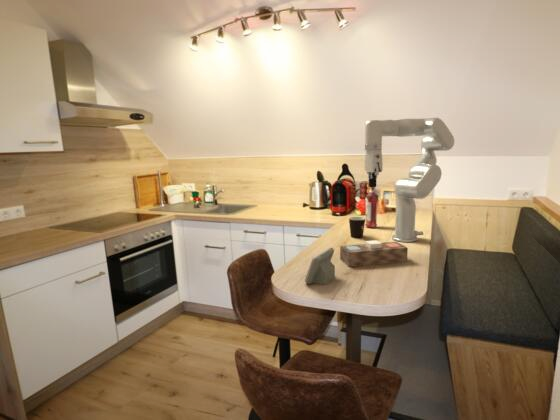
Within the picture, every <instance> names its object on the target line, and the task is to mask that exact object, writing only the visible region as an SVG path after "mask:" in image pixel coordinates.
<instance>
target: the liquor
mask: <svg viewBox="0 0 560 420" xmlns="http://www.w3.org/2000/svg"><path fill="white" fill-rule="evenodd" d="M378 204H379V195H378V194H376V193H375V187H369V193H368V194H365V225H364V226H365V227H366V228H367V229H374V228H376V227H378V224H377V216H378V215H377V214H378V206H379V205H378Z"/></svg>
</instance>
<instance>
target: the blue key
mask: <svg viewBox="0 0 560 420" xmlns="http://www.w3.org/2000/svg"><path fill="white" fill-rule="evenodd" d="M346 249H348V250H349V251H352V250H361V249H360V248H359V247H357V246H350V247H346Z"/></svg>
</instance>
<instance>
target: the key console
mask: <svg viewBox="0 0 560 420" xmlns="http://www.w3.org/2000/svg"><path fill="white" fill-rule="evenodd" d="M381 243H382V248H378V249H369V248H367V247H366V246H365V245H366V243H359V244H349V245H340V247H339V251H340V253H339V259H340V260H341V262H343V263H344V264H345V265H346V266H347V267H357V266H369V265H372V266H373V265H382V264H394V263H395V264H396V263H406V262H408V249H409V247H407V246H405V245H403V244H401V243H400V242H399V241H387V242H381ZM391 243H396V244H398V245H400V246H401V247H392V248H390V247H388V246H386V245H385V244H391ZM350 246H357V247H359V248H360V249H361V250H352V251H349V250H348V249H346V247H350Z"/></svg>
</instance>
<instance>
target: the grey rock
mask: <svg viewBox="0 0 560 420" xmlns="http://www.w3.org/2000/svg"><path fill="white" fill-rule="evenodd" d="M334 252H335V250H334V248H333V247H328V248H327V247H326V249H324V250H322V251H321V252H319V253H318V254H316V255H315V256H313V257H312V259H311V262H310V265H309V267H308V270H307V273H306V276H305V278H304V282H305V284H307V285H311V284H312V283H314V284H321V285H327V284H328V283H329V282H330V281H332V280H333V278H335V277H336V274H335V273H336V268H335V264H333V262H332V258H333V256H334Z"/></svg>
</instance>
